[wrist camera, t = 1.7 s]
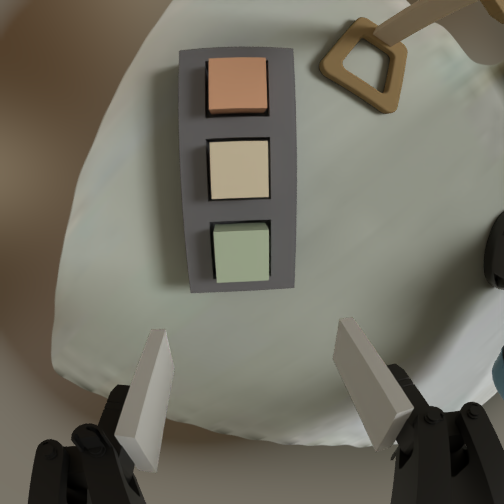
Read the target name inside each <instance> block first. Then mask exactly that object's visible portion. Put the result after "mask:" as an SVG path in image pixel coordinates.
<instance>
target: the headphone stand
mask: <svg viewBox="0 0 504 504" xmlns="http://www.w3.org/2000/svg"><path fill="white" fill-rule="evenodd" d="M477 1H479V0H419V1H417V2H415V3H414V4H412V5H410V6H409V7H407V8H405V9H404V10H402V11H401V12H399V13H397V14H396V15H394V16H393V17H391V18H390V19H388V20H386V21H385V22H383V23H382V24H380V25H379V26H378V25H376V24H375V23H373V22H372V21H370V20H368V19H367V18H363V17H361V18H358V19H357V20H356V21H355V22H354V23H353V24H352V25H351V26H350V27H349V29H348V30H347V31H346V32H345V33H344V34H343V36H342V37H341V38H340V39H339V40H338V41H337V43H336V44H335V45H334V46H333V47H332V48H331V50H330V51H329V52H328V53H327V54H326V56H325V57H324V58H323V59H322V60H321V62H320V64H319V69H320V71H321V73H322V74H323V75H324V76H325V77H327V78H329V79H330V80H332V81H334V82H336V83H337V84H339V85H341V86H342V87H344V88H346V89H347V90H349V91H350V92H352V93H354V94H355V95H357V96H358V97H360V98H361V99H363V100H364V101H366V102H367V103H369V104H370V105H372V106H373V107H375V108H376V109H378V110H379V111H380V112H382V113H385V114H388V113H393V112H395V111H396V109H397V107H398V102H399V97H400V92H401V87H402V82H403V76H404V71H405V65H406V58H407V48H406V47H405V45H404V44H403V43H401V42H400V41H402V40H403V39H405V38H407V37H408V36H410V35H412V34H414V33H415V32H417V31H419V30H421V29H423V28H424V27H426V26H428V25H430V24H432V23H434V22H436V21H437V20H439V19H441V18H443V17H445V16H447V15H449V14H451V13H453V12H455V11H457V10H459V9H462V8H464V7H466V6H468V5H470V4H472V3H475V2H477ZM480 1H481V2H482V4H483V5H484V7H485V8H486V10H487V11H488V13H489V15H490V16H492V17H493V18H494V19H496V20H497V21H499V22H500V23H501V24H504V0H480ZM361 38H363V39H365V40H367V41H368V42H370V43H371V44H373V45H374V46H376V47H377V48H379V49H380V50H382V51H383V52H384V53H386V54H387V55H388V56H389V58H390V63H389V68H388V73H387V78H386V83H385V88H384V92H383V93H381V92H379V91H378V90H376V89H375V88H373V87H372V86H370V85H369V84H367V83H366V82H364V81H363V80H361V79H360V78H358V77H357V76H355V75H353V74H352V73H350V72H349V71H347V70H346V69H345V68H344V67H343V64H342V62H343V60H344V59H345V57H346V56H347V55H348V54H349V52H350V51H351V50H352V49H353V47H354V46H355V45H356V44H357V42H358V41H359V40H360V39H361Z"/></svg>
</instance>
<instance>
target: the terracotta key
mask: <svg viewBox="0 0 504 504" xmlns="http://www.w3.org/2000/svg"><path fill="white" fill-rule="evenodd" d="M266 109H267V83H266V58H262V57H233V58H210V59H209V111H210V113H211V115H212V114H235V113H264V111H265V110H266Z"/></svg>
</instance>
